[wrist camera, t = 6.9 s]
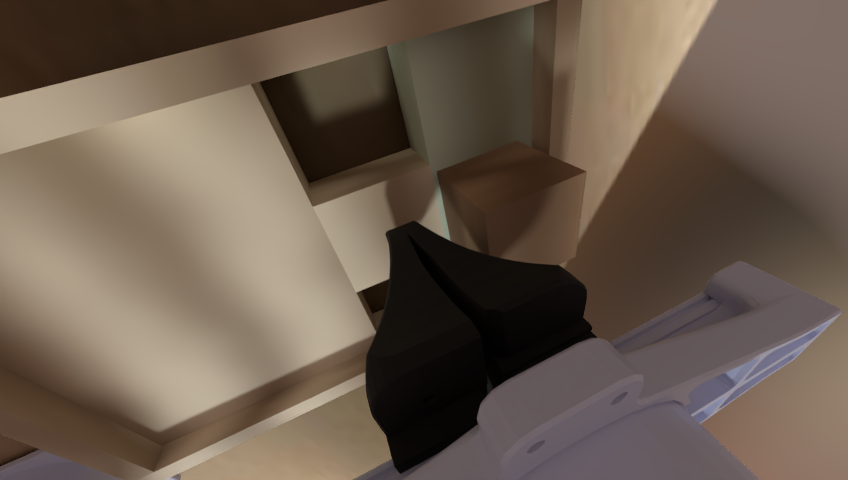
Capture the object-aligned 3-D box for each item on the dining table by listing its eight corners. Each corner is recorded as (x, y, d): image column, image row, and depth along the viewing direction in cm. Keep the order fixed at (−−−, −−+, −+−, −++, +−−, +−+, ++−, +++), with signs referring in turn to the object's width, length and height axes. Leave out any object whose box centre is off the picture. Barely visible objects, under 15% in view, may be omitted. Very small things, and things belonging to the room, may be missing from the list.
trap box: (169, 415, 18) (147, 488, 15) (-253, 166, 8) (-549, 236, 5) (519, 259, 22) (554, 293, 19) (516, -30, 12) (586, -50, 9)
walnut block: (451, 242, 15) (493, 295, 12) (436, 171, 13) (484, 213, 10) (518, 214, 16) (575, 256, 13) (517, 141, 14) (586, 171, 10)
